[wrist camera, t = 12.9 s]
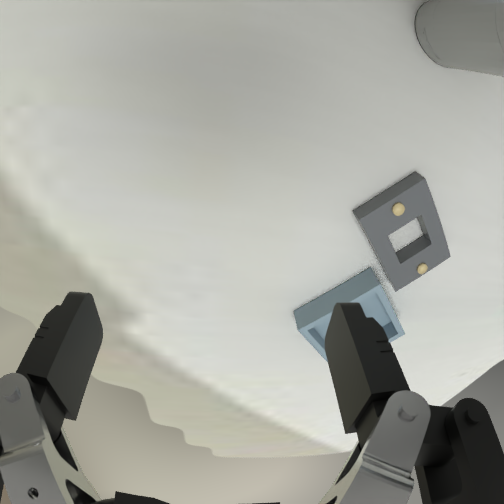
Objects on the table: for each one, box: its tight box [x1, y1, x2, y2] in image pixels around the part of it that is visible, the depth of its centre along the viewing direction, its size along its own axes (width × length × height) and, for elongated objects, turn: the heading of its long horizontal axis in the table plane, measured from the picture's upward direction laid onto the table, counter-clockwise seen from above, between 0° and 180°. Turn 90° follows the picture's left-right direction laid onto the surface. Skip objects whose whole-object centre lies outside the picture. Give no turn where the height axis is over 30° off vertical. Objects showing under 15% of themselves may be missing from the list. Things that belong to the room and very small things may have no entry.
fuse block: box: [353, 172, 451, 292], centre depth 39 cm, size 10×14×3 cm
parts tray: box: [294, 267, 405, 362], centre depth 46 cm, size 13×13×4 cm
